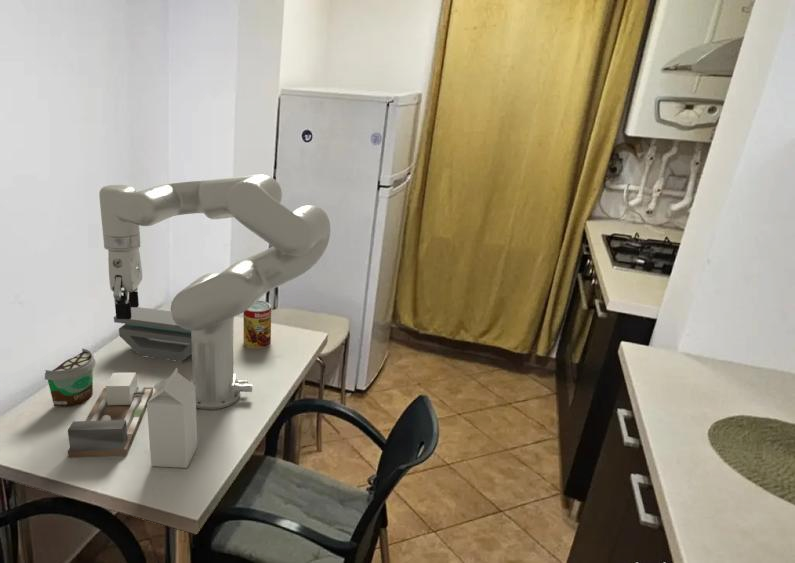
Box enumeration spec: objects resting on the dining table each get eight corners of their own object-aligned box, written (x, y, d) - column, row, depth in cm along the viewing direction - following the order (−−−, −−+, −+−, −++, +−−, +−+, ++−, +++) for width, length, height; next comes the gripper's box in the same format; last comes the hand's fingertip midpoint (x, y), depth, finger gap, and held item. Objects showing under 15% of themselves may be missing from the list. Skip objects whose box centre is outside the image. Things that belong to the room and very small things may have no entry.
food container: (72, 415, 126) (68, 376, 122) (49, 409, 127) (43, 371, 123) (110, 388, 137) (106, 351, 134) (88, 383, 138) (84, 347, 135)
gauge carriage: (115, 389, 133) (113, 371, 132) (148, 389, 135) (146, 371, 133) (107, 405, 127) (105, 386, 125) (141, 404, 129) (140, 385, 127)
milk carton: (197, 446, 119) (194, 368, 113) (186, 468, 113) (183, 387, 106) (163, 444, 119) (158, 366, 112) (151, 466, 112) (145, 384, 106)
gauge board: (104, 393, 135) (102, 369, 132) (153, 392, 137) (151, 369, 135) (68, 457, 113) (64, 430, 110) (127, 455, 115) (124, 428, 113)
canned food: (261, 351, 162) (262, 313, 158) (238, 345, 164) (238, 307, 160) (275, 340, 169) (276, 304, 165) (252, 334, 171) (252, 298, 167)
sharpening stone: (216, 352, 159) (216, 317, 155) (205, 365, 151) (203, 328, 148) (132, 340, 160) (129, 306, 157) (117, 353, 153) (113, 317, 149)
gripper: (129, 252, 120) (135, 328, 126) (148, 230, 136) (152, 299, 142) (91, 251, 118) (99, 328, 124) (115, 229, 134) (120, 298, 140)
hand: (127, 311), depth 133 cm, fingers open, 6 cm apart
